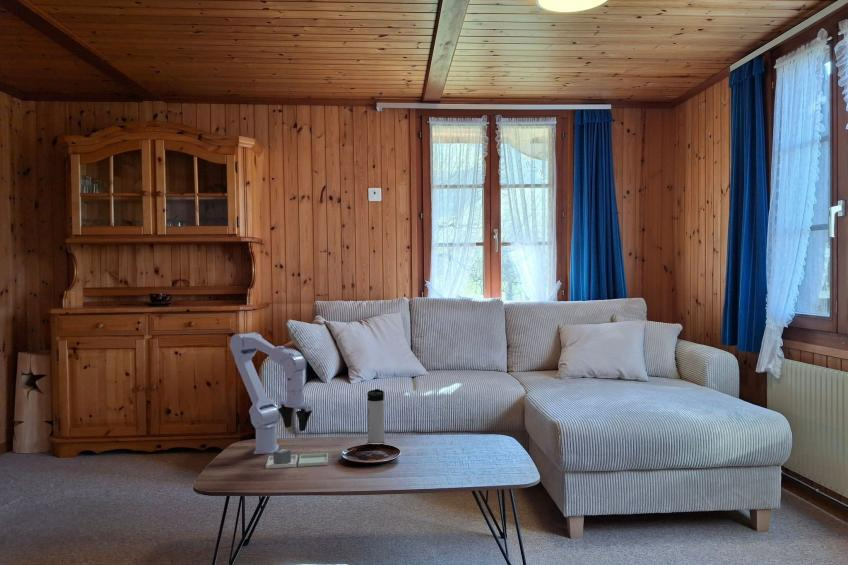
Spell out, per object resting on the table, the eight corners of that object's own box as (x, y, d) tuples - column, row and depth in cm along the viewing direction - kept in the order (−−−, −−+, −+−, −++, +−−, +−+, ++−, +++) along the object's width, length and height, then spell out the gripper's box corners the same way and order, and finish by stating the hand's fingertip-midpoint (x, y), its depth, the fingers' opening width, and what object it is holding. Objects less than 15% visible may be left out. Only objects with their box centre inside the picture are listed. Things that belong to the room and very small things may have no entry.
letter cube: (273, 463, 189) (273, 451, 189) (282, 460, 192) (282, 448, 192) (281, 465, 186) (281, 453, 186) (290, 462, 190) (290, 450, 190)
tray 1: (269, 459, 193) (269, 456, 193) (297, 458, 195) (297, 454, 195) (265, 469, 184) (265, 465, 184) (295, 467, 185) (295, 463, 185)
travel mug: (385, 441, 214) (385, 388, 214) (382, 446, 207) (382, 392, 207) (369, 440, 215) (369, 388, 214) (366, 445, 208) (365, 392, 208)
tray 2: (300, 457, 195) (300, 454, 195) (328, 456, 196) (328, 452, 196) (298, 467, 185) (298, 463, 185) (327, 465, 187) (327, 461, 187)
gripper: (272, 389, 196) (272, 428, 197) (300, 394, 188) (300, 434, 188) (287, 386, 202) (288, 423, 202) (315, 391, 194) (316, 430, 194)
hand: (295, 428), depth 196 cm, fingers open, 7 cm apart
